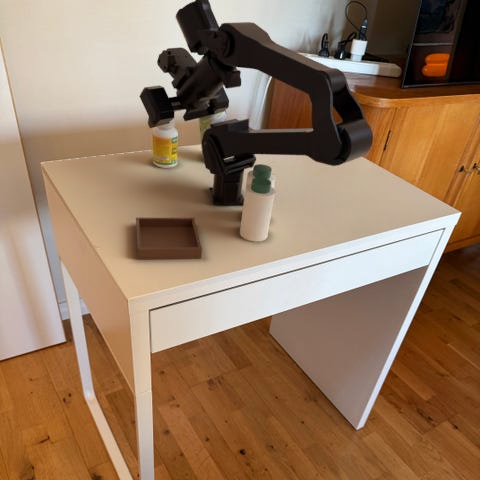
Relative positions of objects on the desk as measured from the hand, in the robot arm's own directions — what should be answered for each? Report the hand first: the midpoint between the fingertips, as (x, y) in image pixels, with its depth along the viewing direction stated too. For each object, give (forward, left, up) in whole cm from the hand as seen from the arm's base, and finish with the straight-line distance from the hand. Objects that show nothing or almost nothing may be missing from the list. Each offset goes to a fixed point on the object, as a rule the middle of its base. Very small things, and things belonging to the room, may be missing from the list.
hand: (167, 122), depth 94 cm
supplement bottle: (-1, 0, -9) cm, 9 cm away
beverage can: (-4, +11, -9) cm, 15 cm away
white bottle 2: (+29, +13, -9) cm, 33 cm away
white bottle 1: (+24, +15, -9) cm, 29 cm away
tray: (+32, -2, -9) cm, 33 cm away
